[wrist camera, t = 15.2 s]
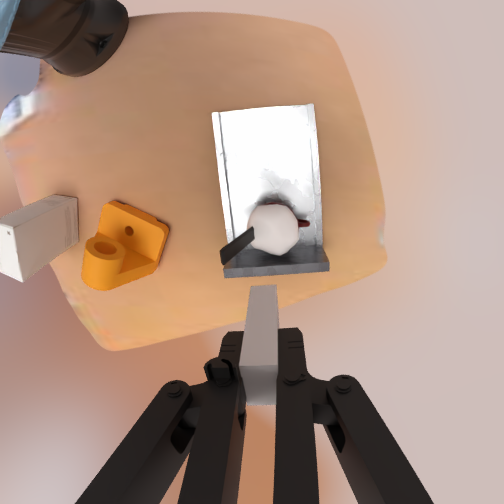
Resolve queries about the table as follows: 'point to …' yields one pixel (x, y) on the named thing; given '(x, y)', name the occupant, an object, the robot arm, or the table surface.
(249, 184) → the grey dustpan
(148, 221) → the bracket
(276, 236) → the cocoa
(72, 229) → the skincare box
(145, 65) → the table surface
